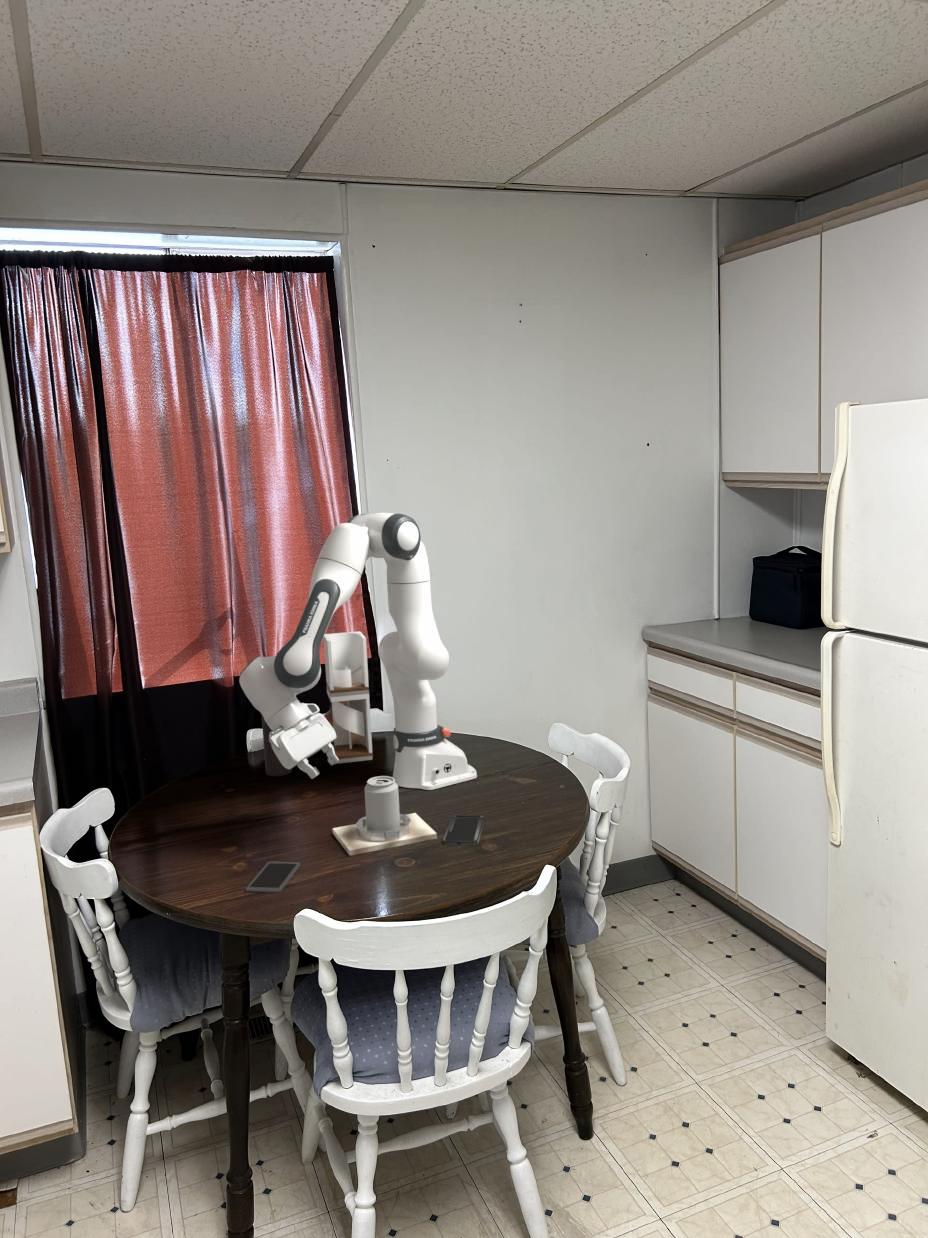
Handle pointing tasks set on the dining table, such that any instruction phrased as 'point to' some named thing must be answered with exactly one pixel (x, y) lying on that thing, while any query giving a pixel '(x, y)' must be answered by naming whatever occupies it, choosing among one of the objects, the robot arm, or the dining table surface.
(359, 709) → the display case
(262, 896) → the dining table surface
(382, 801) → the can
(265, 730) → the wine bottle
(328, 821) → the dining table surface
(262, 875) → the cell phone
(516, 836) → the dining table surface
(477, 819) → the phone
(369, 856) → the dining table surface
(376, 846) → the seat board
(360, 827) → the ring collar
